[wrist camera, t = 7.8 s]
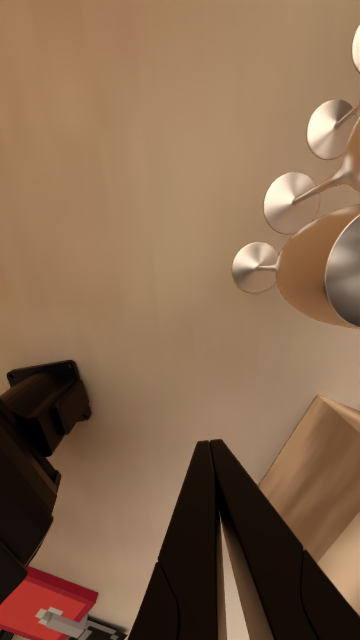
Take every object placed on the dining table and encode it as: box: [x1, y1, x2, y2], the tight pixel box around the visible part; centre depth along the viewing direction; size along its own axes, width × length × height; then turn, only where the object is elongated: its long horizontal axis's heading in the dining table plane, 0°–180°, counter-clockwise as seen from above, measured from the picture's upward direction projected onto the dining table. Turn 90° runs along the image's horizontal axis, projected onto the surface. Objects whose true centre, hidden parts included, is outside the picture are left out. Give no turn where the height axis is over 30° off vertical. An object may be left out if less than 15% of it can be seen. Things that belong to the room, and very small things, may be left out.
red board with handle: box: [0, 566, 128, 640], centre depth 28 cm, size 30×3×15 cm
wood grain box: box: [258, 395, 360, 616], centre depth 21 cm, size 13×20×8 cm
